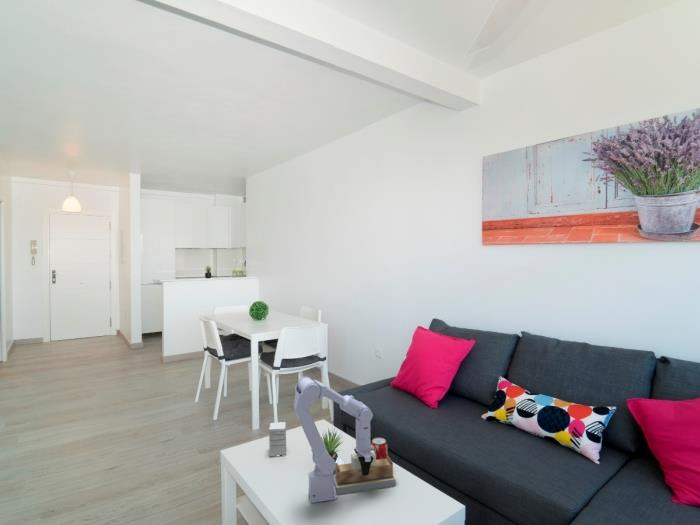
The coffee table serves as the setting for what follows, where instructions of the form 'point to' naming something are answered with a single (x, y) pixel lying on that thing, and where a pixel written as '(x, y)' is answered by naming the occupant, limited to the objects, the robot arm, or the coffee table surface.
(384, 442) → the soda can
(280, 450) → the supplement box
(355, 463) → the block
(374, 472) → the brown wooden long block
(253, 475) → the coffee table surface
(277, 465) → the coffee table surface
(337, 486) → the dock
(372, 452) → the cream cube
